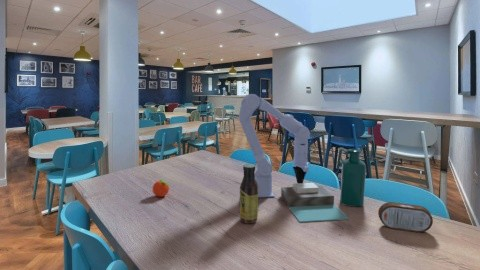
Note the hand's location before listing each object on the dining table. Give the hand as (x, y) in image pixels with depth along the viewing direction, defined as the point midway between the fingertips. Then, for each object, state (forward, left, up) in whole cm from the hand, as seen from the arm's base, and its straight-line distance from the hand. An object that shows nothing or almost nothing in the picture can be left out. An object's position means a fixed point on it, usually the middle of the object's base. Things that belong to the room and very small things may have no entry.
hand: (299, 183), depth 118 cm
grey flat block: (0, -8, -5) cm, 10 cm away
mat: (0, -20, -5) cm, 21 cm away
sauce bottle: (-26, -23, -5) cm, 35 cm away
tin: (+23, -35, -5) cm, 42 cm away
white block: (0, -7, -1) cm, 7 cm away
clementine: (-60, +4, -5) cm, 60 cm away
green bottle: (+17, -12, -5) cm, 21 cm away
